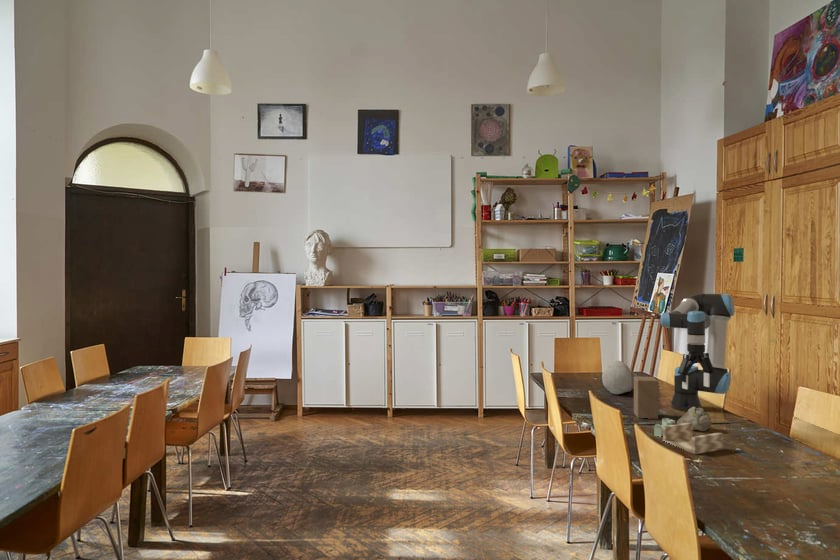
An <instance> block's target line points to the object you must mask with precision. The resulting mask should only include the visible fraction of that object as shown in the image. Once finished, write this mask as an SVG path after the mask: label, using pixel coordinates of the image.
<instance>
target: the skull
mask: <svg viewBox="0 0 840 560" xmlns="http://www.w3.org/2000/svg"><path fill="white" fill-rule="evenodd" d="M631 372H632V371H631V368H630V367H629V366H628V365H627V364H626V363H625V362H623V361H621V360H615V361H611V362H610V363H609V364H608V365H607V366H606V367H605V368H604V370H603V371H602V373H601V374H602V375H601V380H602V384H603V387H605V389H607V391H609V393H611V394H613V395H622V394H625V393H627V392H628V393H629V392H631V391H632V387H633V382H632V381H633V377H632V373H631Z"/></svg>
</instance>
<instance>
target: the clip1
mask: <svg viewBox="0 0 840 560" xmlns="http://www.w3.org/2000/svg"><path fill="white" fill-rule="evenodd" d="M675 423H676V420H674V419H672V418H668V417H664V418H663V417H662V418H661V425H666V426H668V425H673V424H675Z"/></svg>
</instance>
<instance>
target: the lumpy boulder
mask: <svg viewBox="0 0 840 560" xmlns="http://www.w3.org/2000/svg"><path fill="white" fill-rule="evenodd" d="M711 420H712V418H711V417H710V415H709V413H707V412H705V409H704V408H703V407H702V408H696V407H691V408H690V409H689V410H688V411H686V413H684V414H683V415H682V416H681V417H680V418H678V420H677V421H676V424H682V423H689V422H690V423H693V431H699V432H705V431H708V429H710V428H711V427H712V424H713V423H712V421H711Z"/></svg>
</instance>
